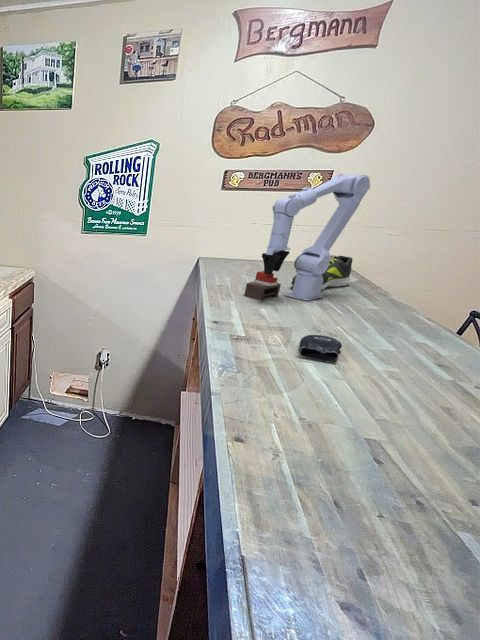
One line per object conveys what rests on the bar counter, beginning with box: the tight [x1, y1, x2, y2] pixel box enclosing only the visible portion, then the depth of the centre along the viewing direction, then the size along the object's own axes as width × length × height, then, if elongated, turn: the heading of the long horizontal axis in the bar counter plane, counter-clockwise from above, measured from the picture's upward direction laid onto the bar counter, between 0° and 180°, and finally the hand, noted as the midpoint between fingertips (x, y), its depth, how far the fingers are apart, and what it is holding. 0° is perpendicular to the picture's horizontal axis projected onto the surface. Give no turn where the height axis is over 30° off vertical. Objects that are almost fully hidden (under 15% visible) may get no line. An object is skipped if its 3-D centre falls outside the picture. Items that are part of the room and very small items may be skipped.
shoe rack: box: [244, 281, 282, 301], centre depth 174 cm, size 10×7×5 cm
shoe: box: [252, 270, 279, 286], centre depth 172 cm, size 7×4×4 cm, turn 22°
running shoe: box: [290, 254, 353, 291], centre depth 185 cm, size 11×30×12 cm, turn 115°
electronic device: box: [297, 334, 343, 363], centre depth 123 cm, size 9×6×15 cm
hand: (271, 272), depth 165 cm, fingers open, 7 cm apart
